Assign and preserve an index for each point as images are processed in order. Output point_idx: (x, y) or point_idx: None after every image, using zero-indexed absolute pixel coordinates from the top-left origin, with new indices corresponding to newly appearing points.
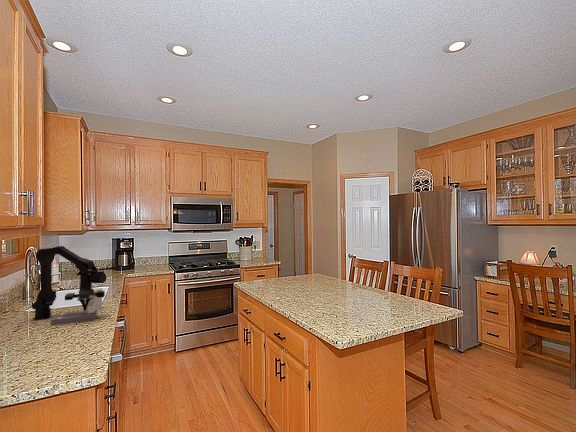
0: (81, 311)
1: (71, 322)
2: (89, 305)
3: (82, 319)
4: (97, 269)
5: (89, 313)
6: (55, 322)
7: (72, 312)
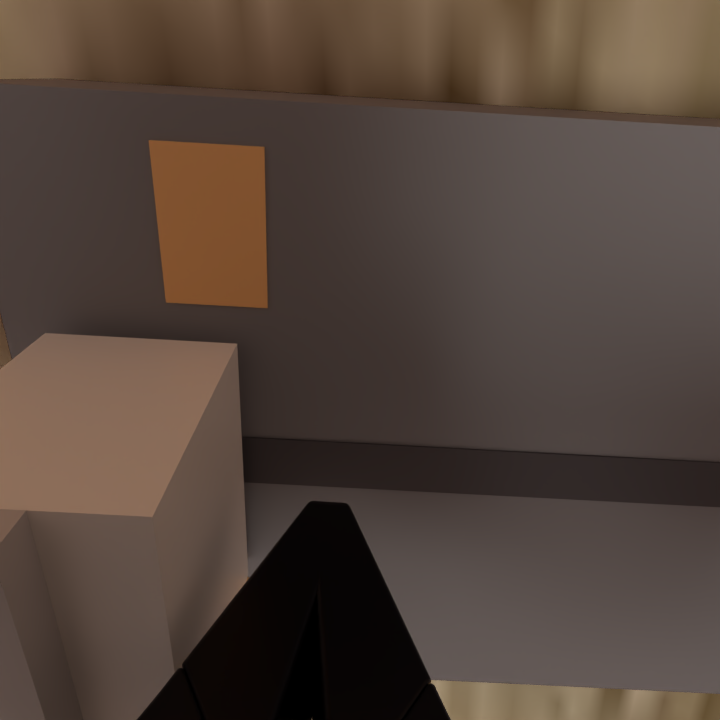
0: (422, 658)
1: (665, 116)
2: (120, 654)
3: (387, 102)
4: None
5: None
6: None
7: (612, 669)
